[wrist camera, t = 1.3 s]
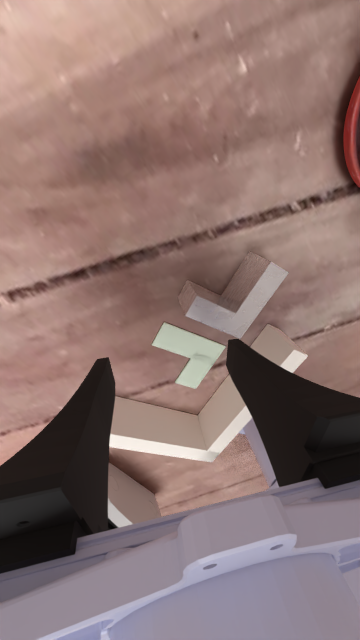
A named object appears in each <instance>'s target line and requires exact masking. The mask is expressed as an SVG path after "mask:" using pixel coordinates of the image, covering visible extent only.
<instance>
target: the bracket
mask: <svg viewBox="0 0 360 640" xmlns="http://www.w3.org/2000/svg"><path fill="white" fill-rule="evenodd" d="M288 273H289V272H287V271H286V270H284V269H282V268H281V267H279V266H278V265H276V264H274V263H273V262H271V261H269V260H267V259H265V258H263V257H261V256H259V255H256V254H254V253H252V252H250V251H249V252H248V254H247V255H246V257H245V259H244V260H243V262H242V263H241V265H240V266H239V268H238V270H237V271H236V273H235V274H234V276H233V277H232V279H231V281H230V282H229V284H228V285H227V287H226V288H225V290H224V292H223V293H222V295H221V296H220V295H218V294H216V293H214V292H212V291H210V290H208V289H206V288H203V287H201V286H199V285H197V284H195V283H193V282H191V281H189V280H187V281H186V283H185V285H184V287H183V288H182V290H181V292H180V294H179V296H178V300H179V302H180V305H181V307H182V310H183V312H184V315H185V316H186V317H189V318H191V319H194V320H196V321H199V322H201V323H203V324H206V325H208V326H211V327H213V328H215V329H218V330H220V331H223V332H225V333H227V334H230V335H232V336H235V337H237V338H239V339H241V337H242V336H243V335H244V333H245V332H246V330H247V329H248V328H249V326H250V325H251V324H252V322H253V321H254V319H255V318H256V317H257V315H258V314H259V313H260V311H261V310H262V309H263V307H264V306H265V304H266V303H267V302H268V300H269V299H270V298H271V296H272V295H273V294H274V292H275V291H276V289H277V288H278V287H279V285H280V284H281V283H282V281H283V280H284V279H285V277H286V276H287V274H288Z"/></svg>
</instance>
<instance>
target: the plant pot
mask: <svg viewBox="0 0 360 640" xmlns="http://www.w3.org/2000/svg"><path fill="white" fill-rule="evenodd" d="M343 144H344V155H345V160H346V164H347V168H348V170H349V173H350V175H351V177H352V179H353V181H354V182H355V183H356V184H357V186H358V187H359V188H360V77H359V79H358V81H357V83H356V86H355V88H354V91H353V94H352V96H351V99H350V103H349V106H348V109H347V114H346V119H345V125H344V141H343Z"/></svg>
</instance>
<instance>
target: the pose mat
mask: <svg viewBox="0 0 360 640" xmlns="http://www.w3.org/2000/svg"><path fill="white" fill-rule="evenodd" d="M152 345H153V346H156V347H159V348H162V349H165V350H168V351H170V352H173V353H176V354H179V355H182V356H185V357H188V358H190V359H189V361H188V363H187V364H186V366H185V367H184V369H183V370H182V372H181V373H180V375H179V376H178V378H177V379H176V381H175V383H177V384H180V385H184V386H187V387H191V388H194V389H196V388H197V386H198V385H199V384H200V382H201V381H202V379H203V378H204V377H205V375H206V374H207V372H208V371H209V370H210V368H211V367H212V365H213V364H214V363H215V361H216V360H217V358H218V357H219V356H220V354H221V353H222V351H223V350H224V349H225V347H226V346H225V345H222V344H220V343H217V342H215V341H212V340H209V339H207V338H204V337H202V336H199V335H197V334H194V333H191V332H189V331H186V330H184V329H181V328H179V327H176V326H173V325H171V324H168V323H166V322H164V323H163V325H162V326H161V328H160V330H159V332H158V334H157V335H156V337H155V339H154V341H153V343H152Z"/></svg>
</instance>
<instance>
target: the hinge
mask: <svg viewBox="0 0 360 640" xmlns="http://www.w3.org/2000/svg"><path fill="white" fill-rule="evenodd" d="M159 517H162V516H161V513H160V510H159V507H158V504H157V501H156V498H155V494H153V493H152V492H150V491H149V490H148V489H146V488H145V487H143V486H142V485H140V484H139V483H138V482H136V481H135V480H133V479H132V478H131V477H129V476H128V475H126V474H125V473H124V472H122V471H121V470H119V469H118V468H116V467H115V466H114V465H112V464H111V463H109V467H108V530H112V529H116V528H120V527H124V526H128V525H132V524H136V523H140V522H144V521H148V520H152V519H156V518H159Z"/></svg>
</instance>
